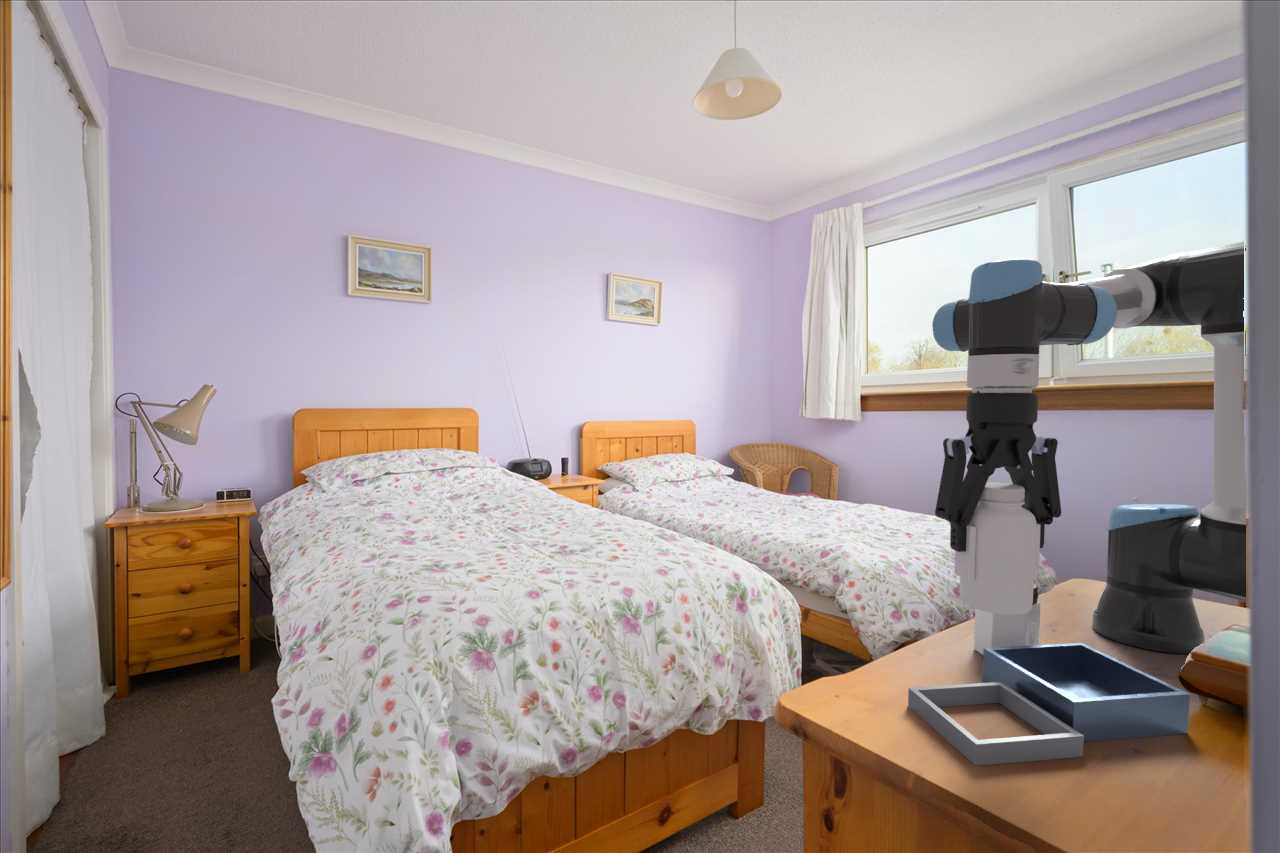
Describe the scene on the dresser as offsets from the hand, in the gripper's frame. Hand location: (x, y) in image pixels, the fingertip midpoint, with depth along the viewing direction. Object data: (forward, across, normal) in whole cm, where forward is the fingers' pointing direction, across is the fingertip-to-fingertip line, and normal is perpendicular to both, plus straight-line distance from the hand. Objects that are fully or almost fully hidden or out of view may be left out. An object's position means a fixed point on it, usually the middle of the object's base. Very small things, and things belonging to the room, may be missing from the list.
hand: (996, 575), depth 77 cm
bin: (+20, +16, +4) cm, 25 cm away
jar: (+20, +18, +20) cm, 33 cm away
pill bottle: (+4, 0, 0) cm, 4 cm away
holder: (+20, 0, 0) cm, 20 cm away
